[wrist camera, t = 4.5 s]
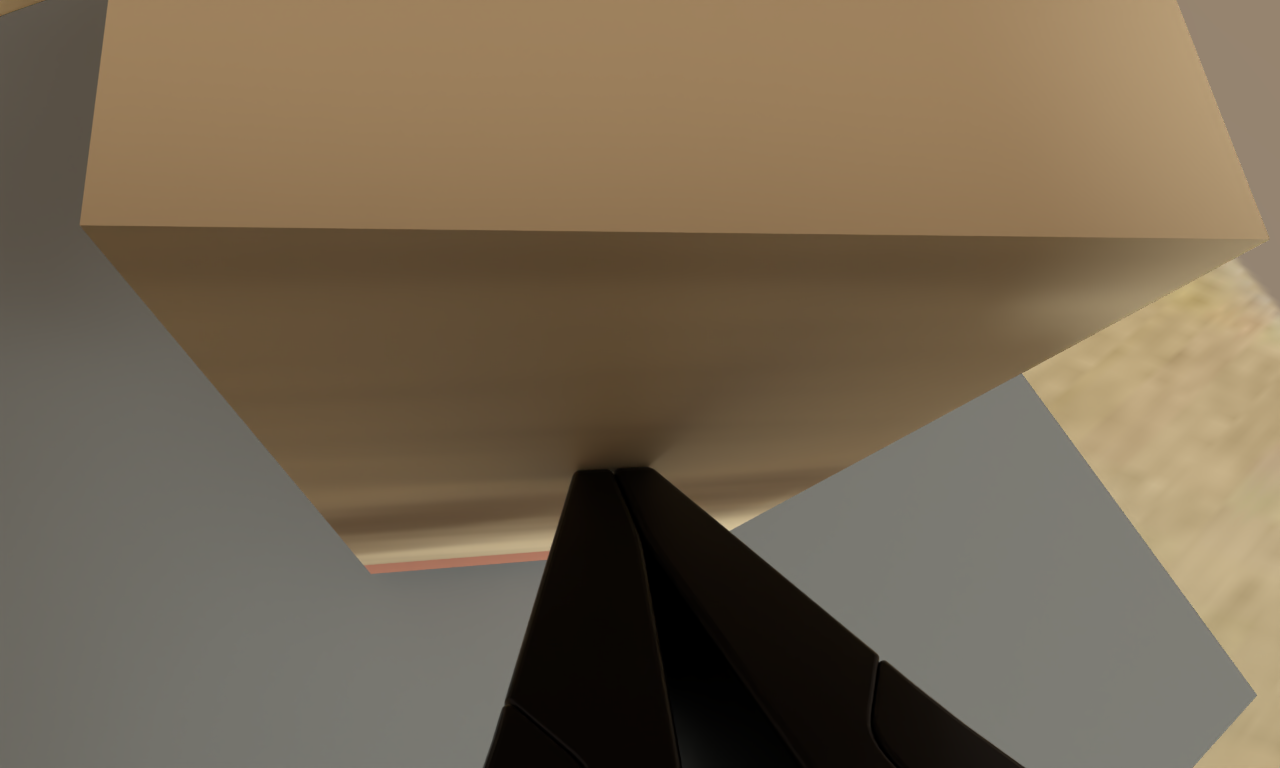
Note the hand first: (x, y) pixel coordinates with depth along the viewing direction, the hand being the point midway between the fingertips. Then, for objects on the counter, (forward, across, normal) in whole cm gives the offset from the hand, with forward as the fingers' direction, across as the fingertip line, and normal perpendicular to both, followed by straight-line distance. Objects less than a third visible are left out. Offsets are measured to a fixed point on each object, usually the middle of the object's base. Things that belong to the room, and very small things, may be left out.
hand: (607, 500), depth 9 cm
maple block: (+7, 0, +3) cm, 7 cm away
